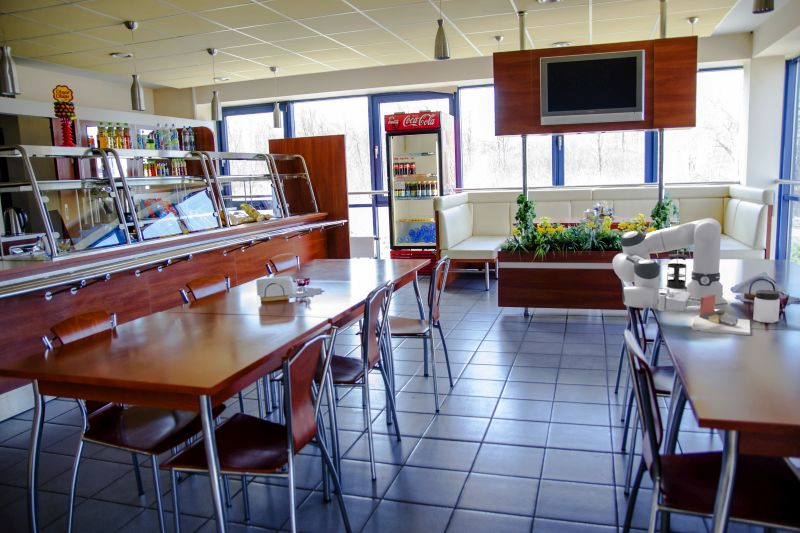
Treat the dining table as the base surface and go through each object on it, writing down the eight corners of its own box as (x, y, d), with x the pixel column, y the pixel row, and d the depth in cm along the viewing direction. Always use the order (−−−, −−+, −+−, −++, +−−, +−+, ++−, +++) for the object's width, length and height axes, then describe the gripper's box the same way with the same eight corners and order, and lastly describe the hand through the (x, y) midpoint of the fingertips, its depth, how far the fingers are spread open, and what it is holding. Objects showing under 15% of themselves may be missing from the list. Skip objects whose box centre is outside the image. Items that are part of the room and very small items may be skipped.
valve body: (698, 318, 261) (699, 309, 260) (708, 316, 262) (709, 308, 262) (729, 326, 245) (729, 318, 245) (739, 325, 247) (740, 317, 246)
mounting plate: (695, 317, 265) (695, 315, 265) (749, 322, 256) (749, 319, 256) (691, 330, 246) (692, 327, 246) (750, 335, 237) (750, 332, 236)
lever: (716, 311, 256) (717, 291, 255) (726, 312, 253) (727, 292, 252) (696, 317, 246) (697, 296, 245) (706, 318, 243) (707, 298, 242)
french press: (686, 289, 327) (688, 245, 323) (667, 288, 330) (669, 244, 327) (684, 285, 338) (686, 242, 334) (665, 284, 341) (667, 242, 337)
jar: (770, 324, 252) (772, 294, 251) (749, 320, 259) (751, 291, 257) (781, 320, 257) (783, 292, 255) (761, 317, 264) (763, 289, 262)
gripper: (667, 302, 263) (703, 305, 256) (659, 311, 245) (697, 315, 238) (667, 287, 262) (704, 290, 255) (659, 295, 244) (698, 299, 237)
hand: (701, 302), depth 246 cm, fingers open, 2 cm apart
